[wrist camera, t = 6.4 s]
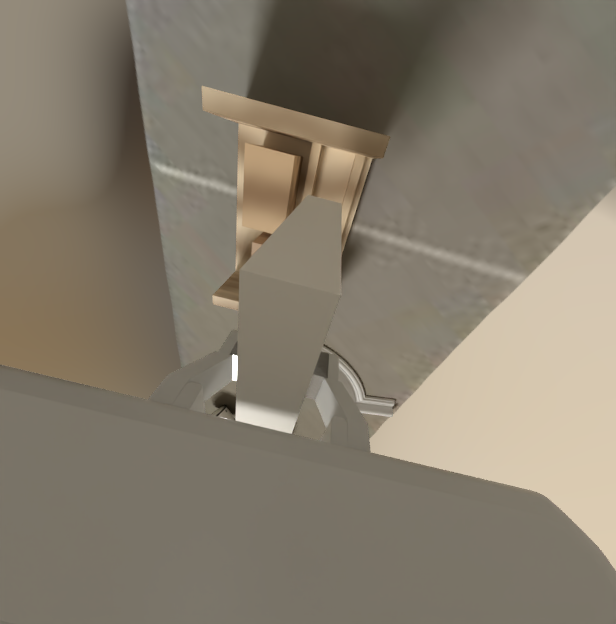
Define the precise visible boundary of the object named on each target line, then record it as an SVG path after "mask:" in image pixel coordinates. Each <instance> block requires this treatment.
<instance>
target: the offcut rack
mask: <svg viewBox="0 0 616 624" xmlns="http://www.w3.org/2000/svg"><path fill="white" fill-rule="evenodd" d="M202 101H203V110H204V111H206V112H209V113H212V114H215V115H217V116H220V117H223V118H226V119H228V120H231V121H234V122H237V123H239V132H238V182H237V233H236V271H235V272H234V273H233V274H232V275H231V277H230V278H229V279H228V280H227V281H226V282H225V283H224V284H223V285H222V286H221V287H220V288H219V289H218V290H217V291H216V292H215V293H214V294H213V304H214V305H218V306H222V307H226V308H230V309H234V310H238V307H239V270H240V269H241V268H242V266H243V265H244V264H245V263H246V262H247V261H248V260H249V259H250V258H251V251H252V242H253V241H254V240H255V239H256V238H257V237H258V236H259V235H260V234H261V233H262V232H263V231H259V230H255V229H251V228H247V227H244V226H242V213H243V183H244V154H245V143H250V144H255V145H261V146H265V147H269V148H273V149H276V150H280V151H284V152H288V153H292V154H295V155H299V156H303V162H302V168H301V174H300V180H299V187H298V193H297V199H296V205H295V208H296V207H297V206H298V205H299V204H300V203H301V202H302V201H303V200H304V199H305V197H306V196H307V195H311V196H315V197H319V198H323V199H326V200H330V201H334V202H338V203H342V229H341V256H342V253H343V250H344V246H345V243H346V240H347V237H348V234H349V231H350V228H351V224H352V221H353V218H354V215H355V212H356V209H357V205H358V202H359V199H360V196H361V193H362V190H363V187H364V183H365V180H366V177H367V174H368V171H369V168H370V165H371V161H372V159H377V158H383V157H384V154H385V151H386V148H387V145H388V142H389V139H390V136H386V135H383V134H379V133H375V132H372V131H368V130H364V129H360V128H357V127H353V126H349V125H345V124H342V123H338V122H334V121H331V120H327V119H323V118H319V117H316V116H312V115H308V114H304V113H301V112H297V111H293V110H290V109H286V108H282V107H278V106H275V105H271V104H267V103H264V102H260V101H256V100H252V99H249V98H245V97H241V96H237V95H234V94H230V93H226V92H223V91H219V90H215V89H211V88H208V87H204V86H202ZM270 234H271V233H270Z"/></svg>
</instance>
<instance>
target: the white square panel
mask: <svg viewBox="0 0 616 624" xmlns="http://www.w3.org/2000/svg"><path fill="white" fill-rule="evenodd" d="M341 229H342V203H338V202H334V201H330V200H326V199H323V198H319V197H315V196H311V195H307V196H306V197H305V199H304V200H303V201H302V202H301V203H300V204H299V205H298V206H297V207H296V208H295V210H294V211H293V212H292V213H291V214H290V215H289V216H288V217H287V218H286V219H285V220H284V222H283V223H282V224H281V225H280V226H279V227H278V228H277V229H276V230H275V231H274V233H273V234H272V235H271V236H270V237H269V238H268V239H267V240H266V241H265V242H264V243H263V245H262V246H261V247H260V248H259V249H258V250H257V251H256V252H255V253H254V254H253V255H252V257H251V258H250V259H249V260H248V261H247V262H246V263H245V264H244V265H243V266H242V268H241V269H240V270H239V307H238V345H237V383H236V420H235V421H240V422H244V423H248V424H252V425H257V426H261V427H265V428H269V429H273V430H278V431H282V432H286V433H290V434H292V431H293V429H294V426H295V423H296V420H297V417H298V415H299V412H300V409H301V406H302V403H303V401H304V398H305V395H306V392H307V389H308V387H309V384H310V381H311V378H312V375H313V373H314V370H315V367H316V364H317V361H318V359H319V356H320V353H321V350H322V347H323V345H324V342H325V339H326V336H327V333H328V331H329V328H330V325H331V322H332V319H333V317H334V314H335V311H336V308H337V305H338V303H339V300H340V297H341Z"/></svg>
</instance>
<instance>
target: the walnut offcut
mask: <svg viewBox="0 0 616 624" xmlns="http://www.w3.org/2000/svg"><path fill="white" fill-rule="evenodd" d="M271 235H272V234H270V233H267V232H262V233H261V234H260V235H259V236H258V237H257V238H256V239H255V240H254V241H253V242H252V251H251V257H252V255H253V254H254V253H255V252H256V251H257V250H258V249H259V248H260V247H261V246H262V245H263V243H264V242H265V241H266V240H267V239H268V238H269V237H270V236H271Z"/></svg>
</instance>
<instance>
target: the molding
mask: <svg viewBox="0 0 616 624" xmlns="http://www.w3.org/2000/svg"><path fill="white" fill-rule="evenodd" d="M321 351H322V352H327V353H331V354H335V355H337V354H336V353H334V352H333V351H331V350H330V349H328V348H327V347H325V346H323V347H322V350H321ZM339 381H340V382H342V384H343V385H344V387H345V388H346V390H347V392H348V393H349V395H350V396H351V398H352V399H353V401H354V403H355V404H356V406H357V407H358V409H359V411H360V412H361V413H367V414H374V415H381V416H389V417H392V416H393V410H392V407H393V406H394V404H395V403H394V402H395V400H394V399H388V398H380V397H372V396H365V393H364V389H363V386H362V384H361V382H360V380H359V378H358V376H357V375H356V373H355V372H354V371H353V369H352V368H351V367H350V366H349V365H348V364H347V363H346V362H345V361H344V360H343V359H342V358H341V357H340V356H339Z"/></svg>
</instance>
